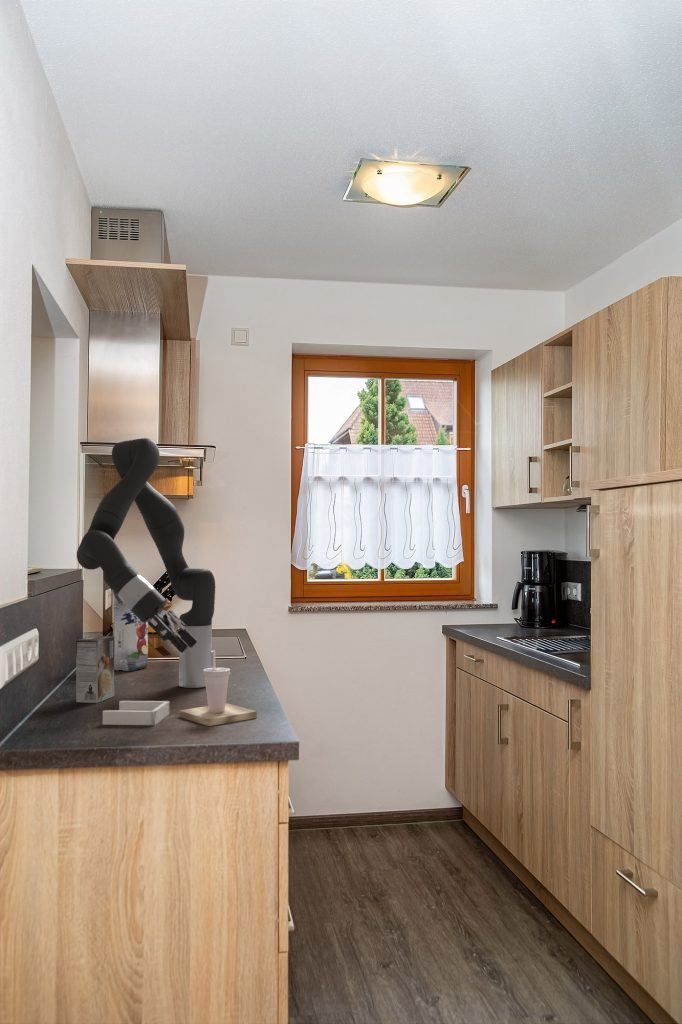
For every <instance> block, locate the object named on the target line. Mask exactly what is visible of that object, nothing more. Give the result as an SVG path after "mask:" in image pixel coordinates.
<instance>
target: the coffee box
mask: <svg viewBox="0 0 682 1024" xmlns="http://www.w3.org/2000/svg"><path fill="white" fill-rule="evenodd" d="M75 643H76V645H75V646H76V649H75V651H76V652H75V656H76V657H75V658H76V659H75V660H76V663H75V664H76V665H75V667H76V669H75V670H76V671H75V672H76V673H75V677H76V680H75V681H76V685H75V686H76V687H75V688H76V693H75V694H76V696H75V698H76V700H75V702H76V703H86V704H87V703H89V704H99V703H101V702H103V701H106V700H109V699H111V698H113V697H115V670H114V636H113V635H111V636H109V635H108V636H107V635H93V636H88V637H85V638H80V639H76V640H75Z"/></svg>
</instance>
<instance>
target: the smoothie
mask: <svg viewBox="0 0 682 1024" xmlns="http://www.w3.org/2000/svg"><path fill="white" fill-rule="evenodd" d="M212 651H213V668H207V669H204V670H203V675H204V676H205V685H206V687H205V690H206V698H207V699H206V700H207V706H208V709H209V712H212V713H219V712H224V711H225V704H226V703H227V693H228V685H229V676H230V675H231V668H229V667H218V666H217V667H216V650H212Z"/></svg>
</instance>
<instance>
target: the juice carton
mask: <svg viewBox="0 0 682 1024" xmlns="http://www.w3.org/2000/svg"><path fill="white" fill-rule="evenodd" d="M112 596H113V597H112V599H113V605H112V607H113V617H112V618H113V621H112V623H113V624H112V627H113V629H112V630H113V631H112V634H113V635H112V636H114V671H119V670H123V671H124V672H135V671H138V669H139V670H143V669H145V668H148V662H149V661H148V659H149V658H148V657H149V655H148V654H149V624H148V622H149V621H148V622H147V623H143V622H142V621H141V620H140V619H139V618H138V617H137V616H136V615H135V614H134V613H133V612H132V611H131V610H130V609H129V608H128V607H127V606H126V605H125V604H124V603H123V602H122V600H121V599H120V598H119V596H118V595H117V594H116V593H115V592H114V591H113V590H112ZM142 668H143V669H142Z"/></svg>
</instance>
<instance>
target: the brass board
mask: <svg viewBox="0 0 682 1024" xmlns="http://www.w3.org/2000/svg"><path fill="white" fill-rule="evenodd" d="M257 714H258V712H257V710H253V709H250V708H246V707H242V706H238V705H234V704H232V703H227V702H226V704H225V711H224V712H219V713H212V712H209V709H208V705H205V706H200V707H199V706H198V707H192V708H187V709H180V710H179V711H178V717H179V718H181V719H185V720H186V721H187V720H188V721H191V722H195V723H198V724H199V725H200V724H201V725H204V726H206V727H213V726H218V725H223V724H230V723H235V722H241V721H245V720H246V721H247V720H251V719H257V718H258V716H257Z"/></svg>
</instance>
